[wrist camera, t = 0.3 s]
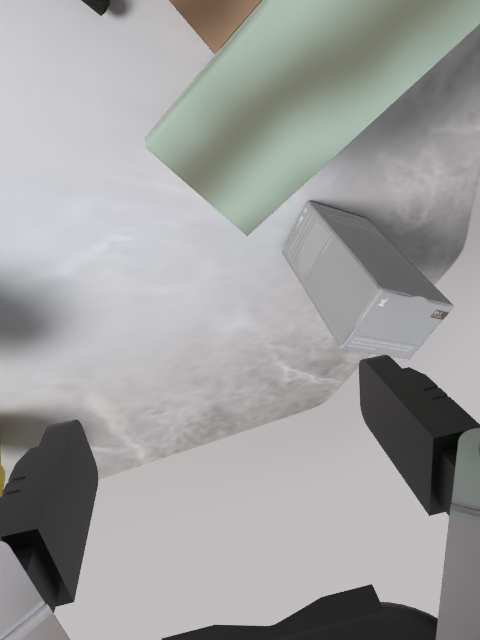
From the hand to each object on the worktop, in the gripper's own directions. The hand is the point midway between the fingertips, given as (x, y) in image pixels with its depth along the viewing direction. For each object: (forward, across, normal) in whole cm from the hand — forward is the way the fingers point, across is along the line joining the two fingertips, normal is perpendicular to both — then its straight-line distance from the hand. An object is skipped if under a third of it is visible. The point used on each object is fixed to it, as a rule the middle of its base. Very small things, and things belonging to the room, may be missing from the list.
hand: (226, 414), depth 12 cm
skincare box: (+34, -15, +4) cm, 37 cm away
